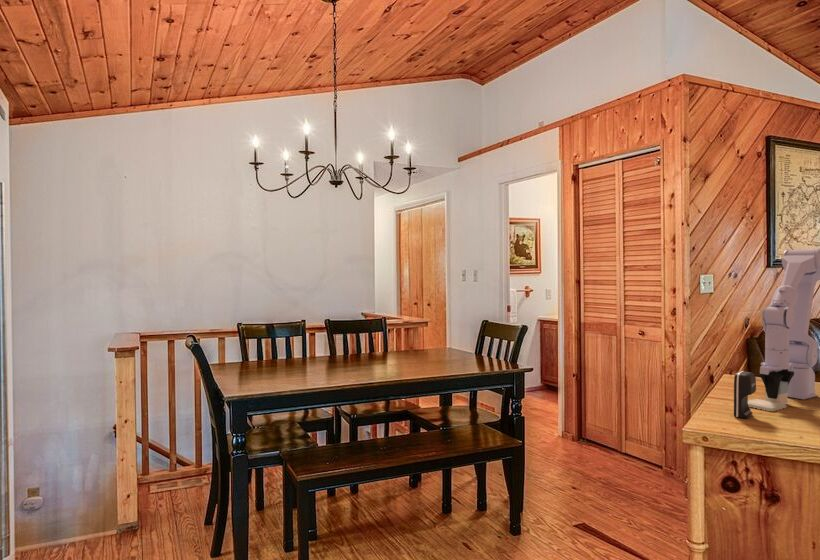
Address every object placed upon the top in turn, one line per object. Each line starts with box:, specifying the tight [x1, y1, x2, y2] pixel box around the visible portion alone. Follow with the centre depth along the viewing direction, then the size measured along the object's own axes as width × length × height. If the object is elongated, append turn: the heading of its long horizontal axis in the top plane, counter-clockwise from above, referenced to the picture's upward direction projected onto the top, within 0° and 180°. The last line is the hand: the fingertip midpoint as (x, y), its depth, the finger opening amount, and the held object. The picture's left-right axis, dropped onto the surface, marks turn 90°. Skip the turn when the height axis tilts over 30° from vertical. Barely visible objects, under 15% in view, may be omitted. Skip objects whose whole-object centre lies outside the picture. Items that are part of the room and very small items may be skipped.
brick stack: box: [764, 381, 789, 405], centre depth 162 cm, size 4×4×6 cm
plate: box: [748, 398, 787, 412], centre depth 159 cm, size 8×8×1 cm
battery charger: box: [733, 370, 757, 419], centre depth 149 cm, size 7×4×11 cm, turn 137°
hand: (776, 397), depth 162 cm, fingers closed on brick stack, 4 cm apart
